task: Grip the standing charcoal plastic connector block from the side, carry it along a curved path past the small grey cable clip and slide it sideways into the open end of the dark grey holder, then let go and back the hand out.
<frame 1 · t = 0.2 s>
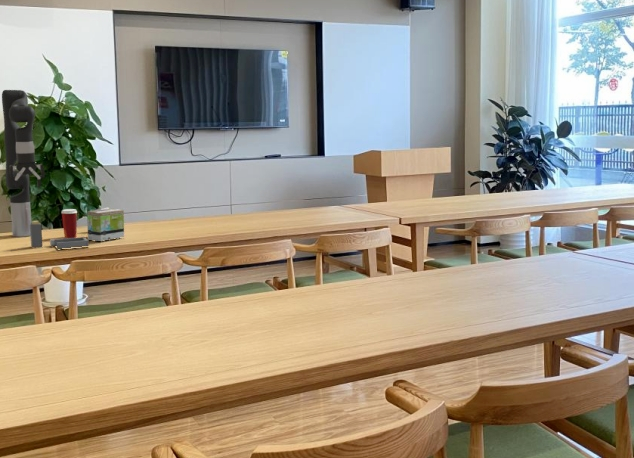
hand: (28, 188, 306), 29 cm above the table, tool pointing down, fingers open, 8 cm apart
end holder: (71, 247, 319), on the table
cable clip: (55, 245, 322), on the table
tea box: (106, 240, 340), on the table
ink cartridge box: (102, 236, 349), on the table
walkman: (104, 231, 365), on the table
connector: (36, 247, 319), on the table
paper cup: (70, 237, 345), on the table
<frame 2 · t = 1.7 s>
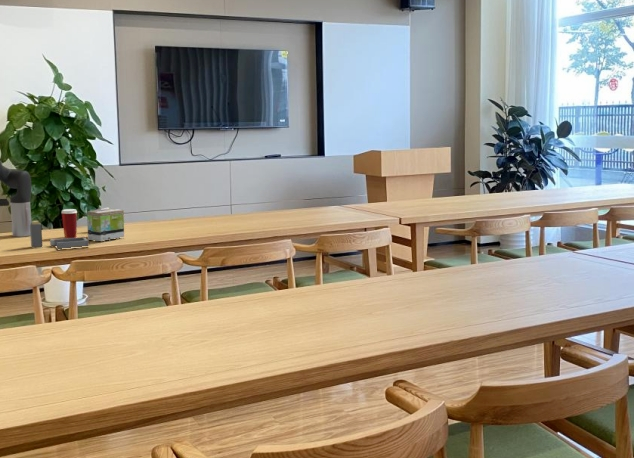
hand: (8, 202, 311), 22 cm above the table, tool horizontal, fingers open, 8 cm apart
nothing on the table moved.
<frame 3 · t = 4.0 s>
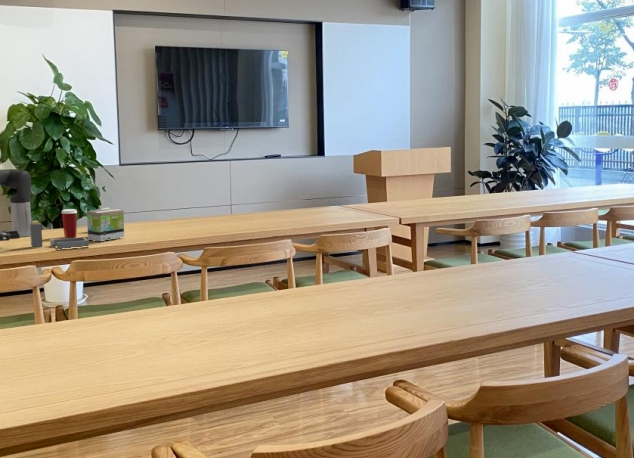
hand: (18, 234, 315), 6 cm above the table, tool horizontal, fingers open, 8 cm apart
nothing on the table moved.
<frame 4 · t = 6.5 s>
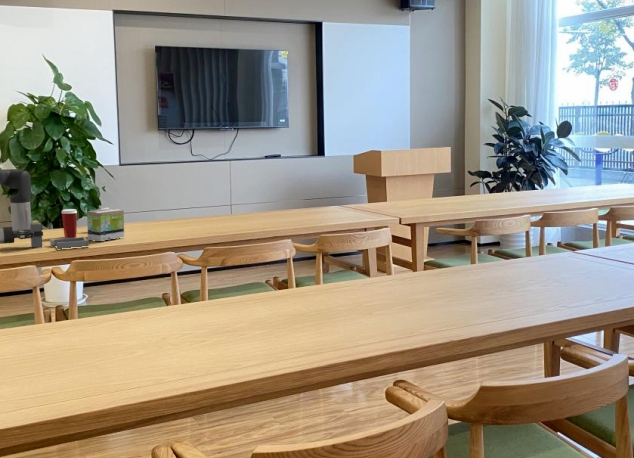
hand: (42, 232, 320), 7 cm above the table, tool horizontal, fingers closed on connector, 4 cm apart
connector: (36, 246, 320), on the table, touching gripper
everything else where it was.
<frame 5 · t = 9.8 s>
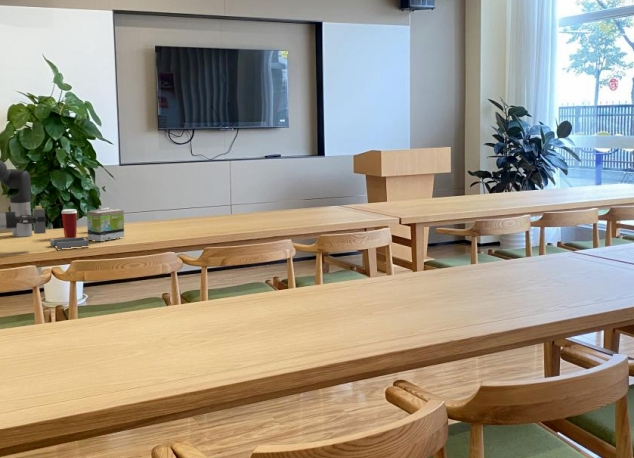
hand: (45, 218, 312), 14 cm above the table, tool horizontal, fingers closed on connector, 4 cm apart
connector: (39, 232, 311), point 8 cm above the table, touching gripper
everything else where it was.
when the fingers open (9 cm above the table, at t = 13.1 s): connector drops 2 cm, resting on end holder.
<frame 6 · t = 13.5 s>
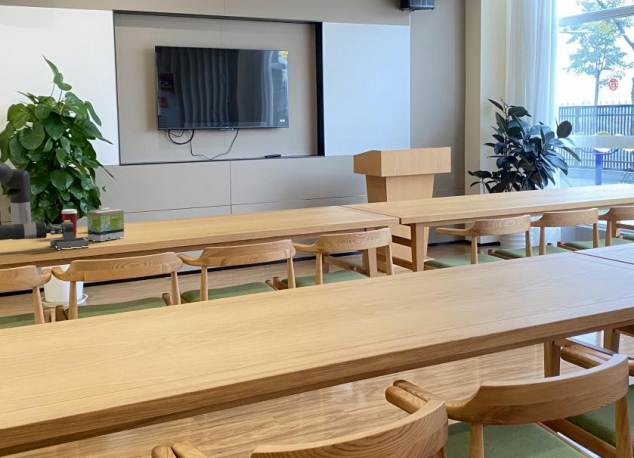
hand: (72, 228, 318), 9 cm above the table, tool horizontal, fingers open, 7 cm apart
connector: (68, 246, 318), point 1 cm above the table, touching end holder
everything else where it was.
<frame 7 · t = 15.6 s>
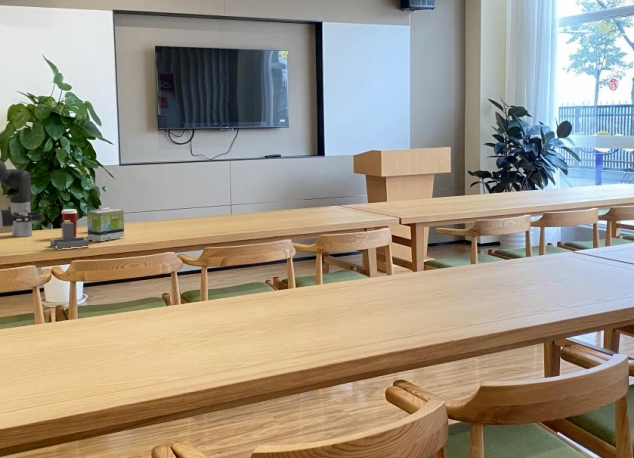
hand: (39, 215, 311), 16 cm above the table, tool horizontal, fingers open, 8 cm apart
nothing on the table moved.
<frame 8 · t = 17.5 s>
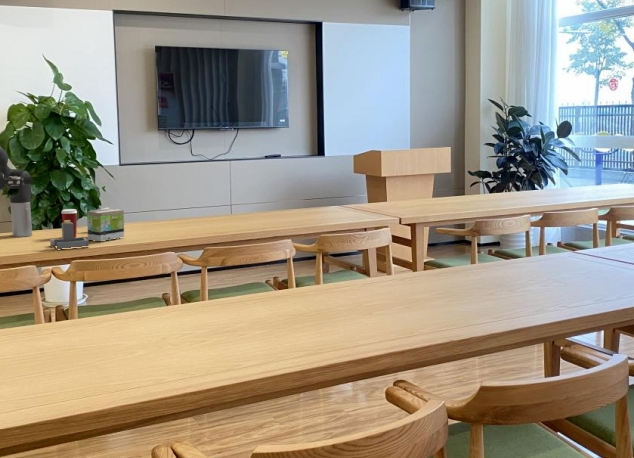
hand: (32, 180, 307), 32 cm above the table, tool horizontal, fingers open, 8 cm apart
nothing on the table moved.
at the end: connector inside the target area on the end holder (0.5 cm from its centre), point 0.5 cm above the end holder's base; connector tilted 0°; the gripper is holding nothing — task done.
